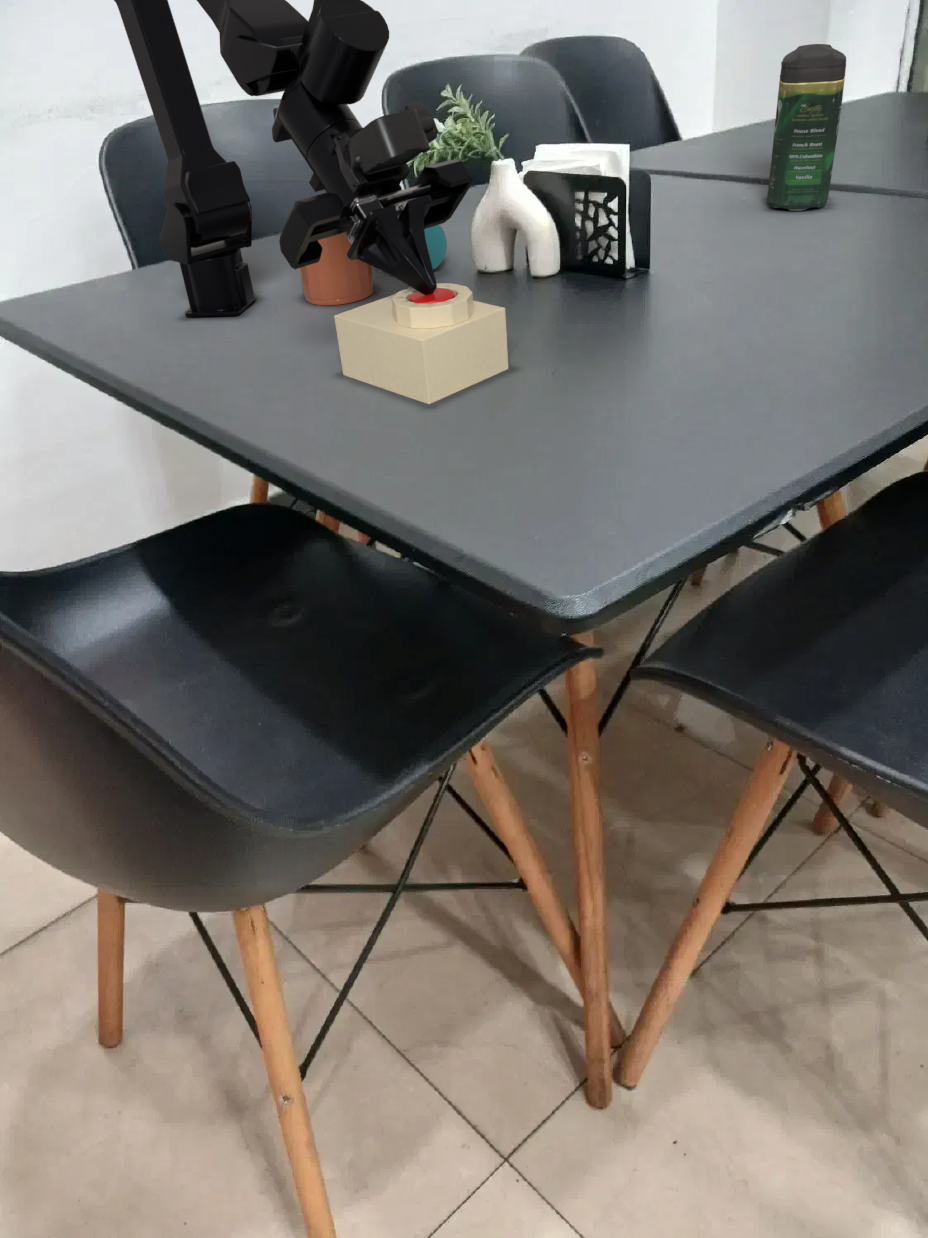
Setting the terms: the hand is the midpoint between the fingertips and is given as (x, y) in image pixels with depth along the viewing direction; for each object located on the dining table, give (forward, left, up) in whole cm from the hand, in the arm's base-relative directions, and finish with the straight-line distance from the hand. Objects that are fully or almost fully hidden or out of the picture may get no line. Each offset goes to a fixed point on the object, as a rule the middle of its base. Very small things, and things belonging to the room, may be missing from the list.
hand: (431, 291), depth 85 cm
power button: (0, 0, -2) cm, 2 cm away
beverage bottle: (-7, +32, -5) cm, 33 cm away
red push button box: (-2, +1, -8) cm, 8 cm away
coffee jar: (+38, +60, -8) cm, 72 cm away
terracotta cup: (-17, +26, -8) cm, 32 cm away
